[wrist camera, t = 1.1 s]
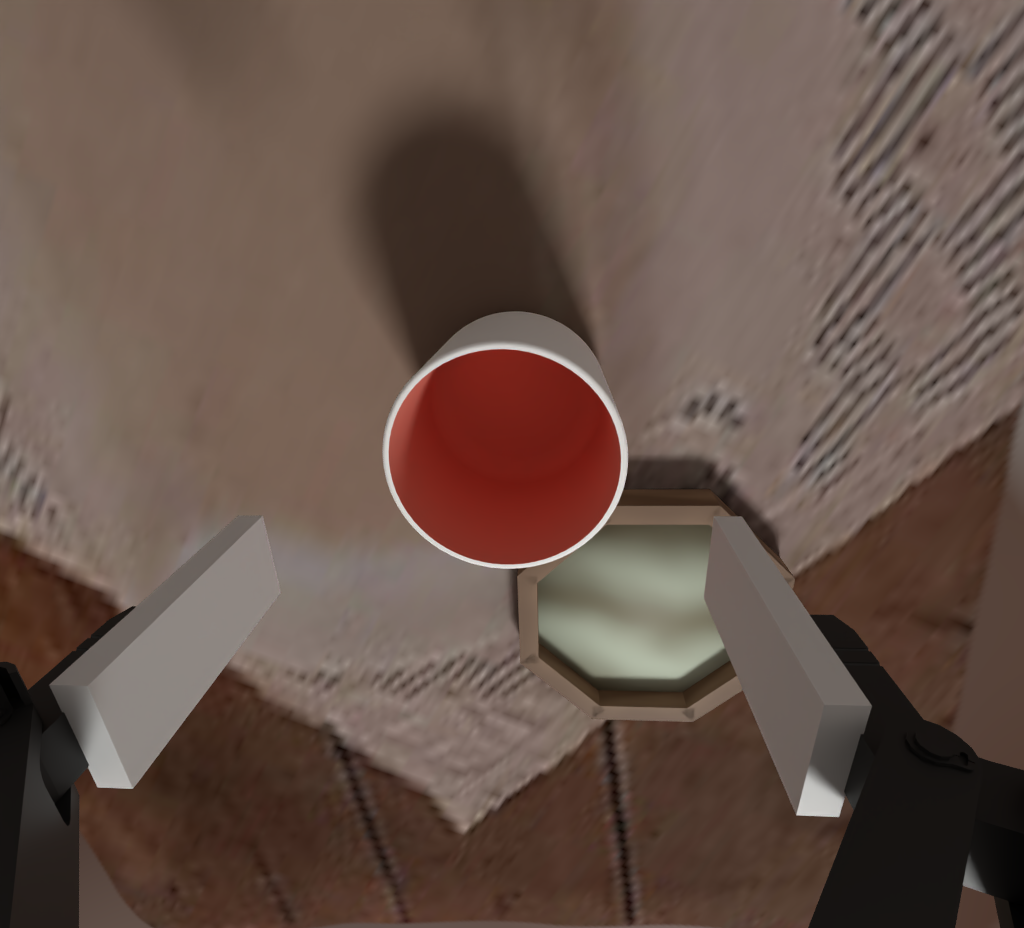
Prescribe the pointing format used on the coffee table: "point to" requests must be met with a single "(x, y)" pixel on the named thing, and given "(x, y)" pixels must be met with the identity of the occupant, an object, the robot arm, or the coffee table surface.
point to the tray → (633, 613)
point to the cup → (507, 444)
